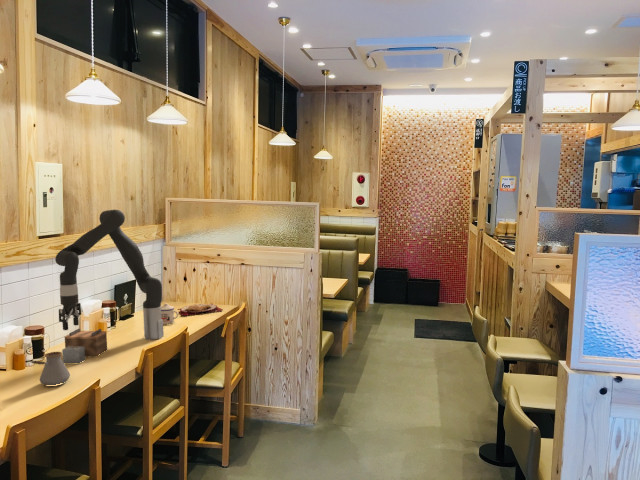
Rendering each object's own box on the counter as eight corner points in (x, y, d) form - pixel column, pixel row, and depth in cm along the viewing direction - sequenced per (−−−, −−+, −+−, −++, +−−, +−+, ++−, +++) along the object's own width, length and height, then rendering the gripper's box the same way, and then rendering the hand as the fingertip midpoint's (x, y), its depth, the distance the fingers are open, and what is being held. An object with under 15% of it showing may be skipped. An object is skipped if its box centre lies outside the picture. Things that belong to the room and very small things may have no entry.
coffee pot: (49, 378, 220) (47, 344, 219) (75, 378, 220) (73, 344, 218) (19, 398, 199) (16, 361, 197) (47, 399, 198) (45, 361, 197)
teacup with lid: (156, 324, 306) (155, 305, 305) (163, 320, 315) (162, 301, 314) (175, 324, 304) (174, 305, 303) (181, 320, 313) (180, 302, 312)
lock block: (85, 360, 243) (84, 346, 242) (79, 364, 238) (78, 349, 237) (68, 360, 243) (67, 346, 243) (62, 364, 238) (61, 349, 238)
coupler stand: (107, 350, 258) (106, 328, 257) (97, 356, 248) (95, 334, 247) (77, 349, 259) (75, 328, 258) (65, 356, 249) (64, 333, 248)
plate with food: (223, 312, 335) (223, 307, 335) (183, 317, 323) (182, 311, 322) (212, 305, 357) (212, 300, 357) (174, 309, 344) (173, 304, 344)
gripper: (67, 297, 230) (69, 331, 232) (85, 290, 244) (86, 323, 246) (52, 296, 231) (54, 331, 233) (70, 290, 245) (72, 323, 247)
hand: (71, 327), depth 239 cm, fingers open, 8 cm apart
